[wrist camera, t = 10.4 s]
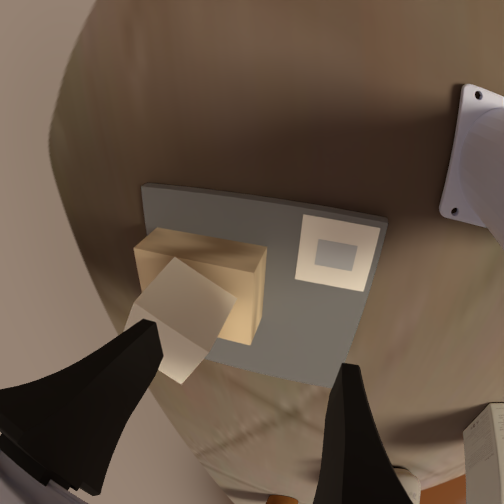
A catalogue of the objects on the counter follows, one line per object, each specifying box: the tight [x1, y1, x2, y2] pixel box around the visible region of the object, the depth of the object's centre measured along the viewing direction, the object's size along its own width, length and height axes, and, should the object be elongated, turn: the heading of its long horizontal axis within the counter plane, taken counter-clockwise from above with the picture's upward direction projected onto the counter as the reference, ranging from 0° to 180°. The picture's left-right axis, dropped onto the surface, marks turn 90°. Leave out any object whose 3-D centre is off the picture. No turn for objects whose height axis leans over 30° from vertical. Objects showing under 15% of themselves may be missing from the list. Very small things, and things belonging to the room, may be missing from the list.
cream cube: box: [124, 257, 237, 384], centre depth 18 cm, size 4×4×4 cm
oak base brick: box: [134, 227, 267, 345], centre depth 21 cm, size 8×6×3 cm
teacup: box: [393, 468, 420, 504], centre depth 31 cm, size 14×11×8 cm
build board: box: [141, 183, 388, 388], centre depth 23 cm, size 16×16×1 cm
